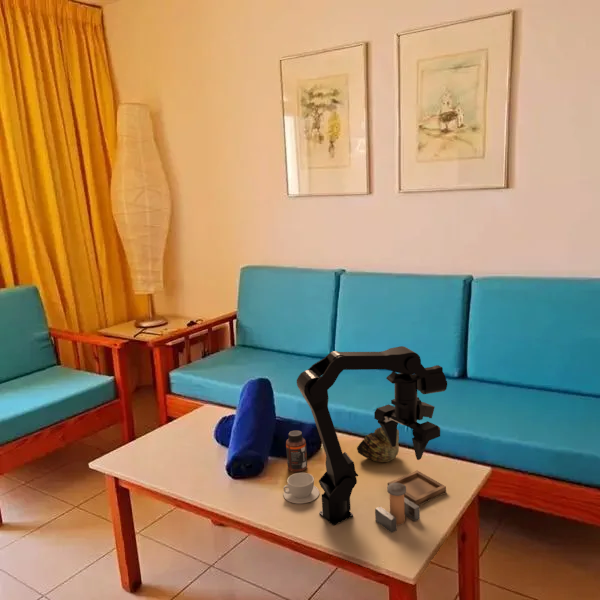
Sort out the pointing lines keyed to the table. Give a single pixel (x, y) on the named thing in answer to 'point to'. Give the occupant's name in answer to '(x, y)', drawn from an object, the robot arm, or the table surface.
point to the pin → (397, 501)
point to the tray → (420, 487)
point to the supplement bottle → (296, 452)
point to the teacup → (300, 488)
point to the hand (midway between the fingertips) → (406, 452)
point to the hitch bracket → (390, 521)
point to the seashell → (378, 446)
